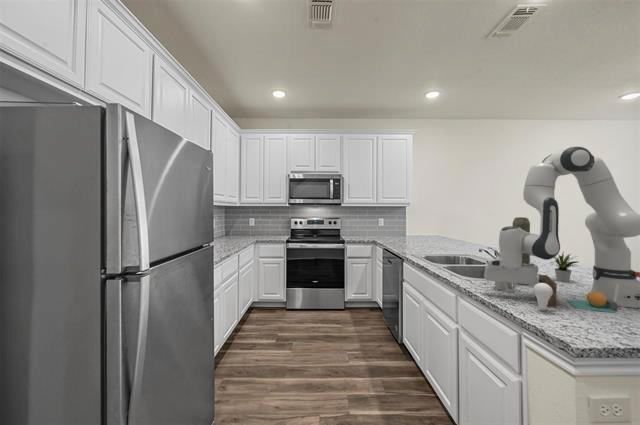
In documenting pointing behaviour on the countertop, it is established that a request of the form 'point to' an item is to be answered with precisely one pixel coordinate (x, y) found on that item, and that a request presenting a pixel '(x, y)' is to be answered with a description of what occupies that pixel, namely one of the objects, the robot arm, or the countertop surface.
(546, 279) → the bridge
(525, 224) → the thermos
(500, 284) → the coffee cup
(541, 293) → the lightbulb
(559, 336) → the countertop surface
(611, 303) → the stopper wall
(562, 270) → the house plant
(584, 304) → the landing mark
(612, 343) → the countertop surface
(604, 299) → the ball
